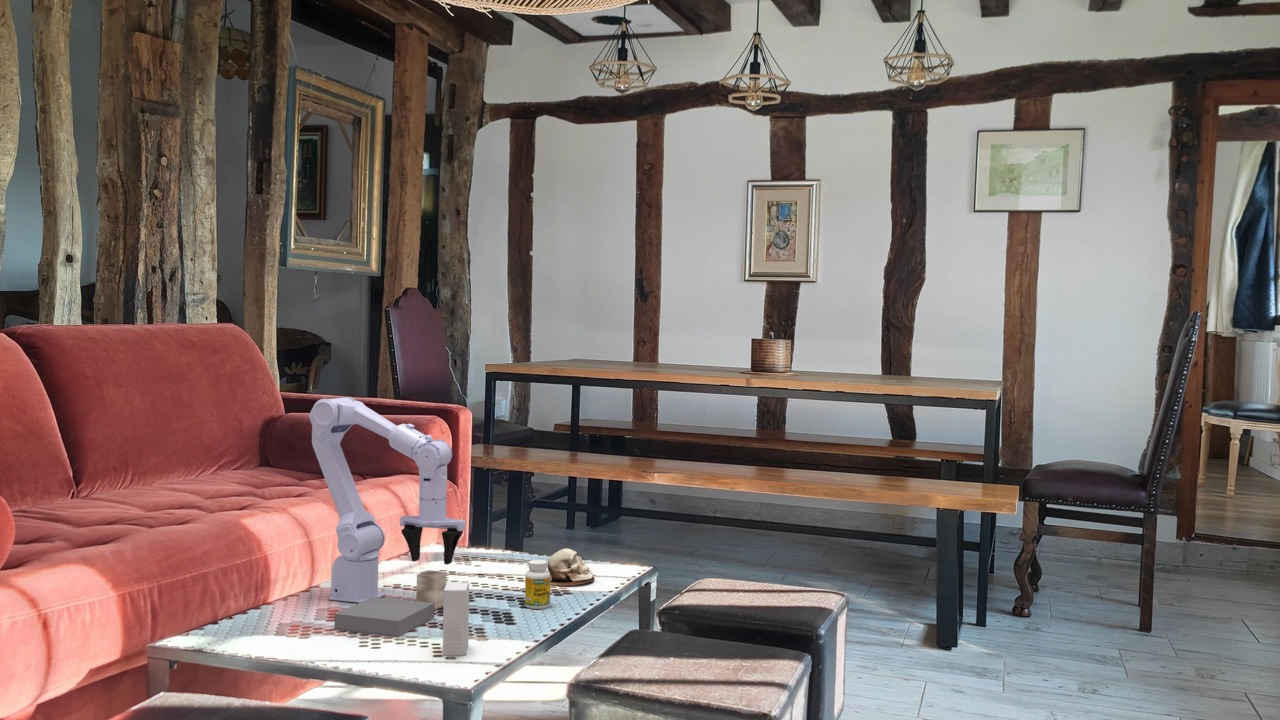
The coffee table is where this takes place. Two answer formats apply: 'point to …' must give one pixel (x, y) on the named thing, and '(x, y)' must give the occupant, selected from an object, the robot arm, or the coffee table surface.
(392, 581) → the coffee table surface
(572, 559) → the skull
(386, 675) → the coffee table surface
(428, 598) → the cream block
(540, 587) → the supplement bottle
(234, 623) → the coffee table surface
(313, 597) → the coffee table surface
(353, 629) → the riser block
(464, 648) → the skincare box
